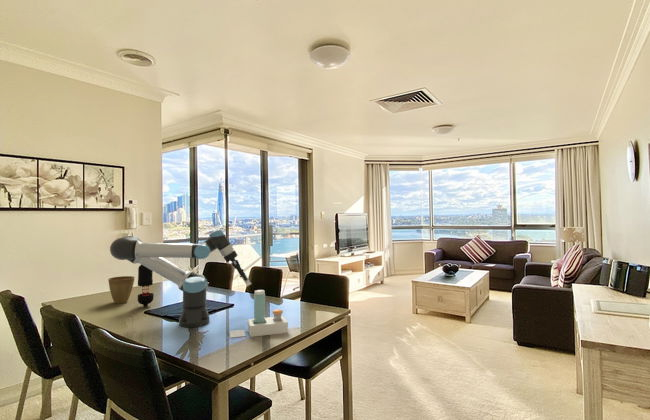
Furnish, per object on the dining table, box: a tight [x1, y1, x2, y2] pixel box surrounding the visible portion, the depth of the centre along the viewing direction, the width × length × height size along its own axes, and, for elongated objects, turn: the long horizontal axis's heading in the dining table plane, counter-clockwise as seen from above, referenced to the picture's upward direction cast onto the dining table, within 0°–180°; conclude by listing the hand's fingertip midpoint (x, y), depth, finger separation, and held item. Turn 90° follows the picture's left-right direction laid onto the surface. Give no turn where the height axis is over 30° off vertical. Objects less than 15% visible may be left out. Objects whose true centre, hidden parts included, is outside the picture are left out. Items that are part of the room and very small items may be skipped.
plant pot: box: [107, 275, 135, 304], centre depth 219 cm, size 15×15×16 cm
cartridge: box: [253, 289, 266, 324], centre depth 163 cm, size 5×5×20 cm
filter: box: [137, 264, 155, 308], centre depth 210 cm, size 14×9×30 cm
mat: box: [229, 329, 246, 339], centre depth 160 cm, size 7×9×1 cm
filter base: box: [247, 315, 289, 338], centre depth 165 cm, size 18×11×5 cm, turn 109°
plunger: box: [272, 308, 284, 320], centre depth 166 cm, size 5×5×4 cm
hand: (248, 283), depth 198 cm, fingers open, 13 cm apart
